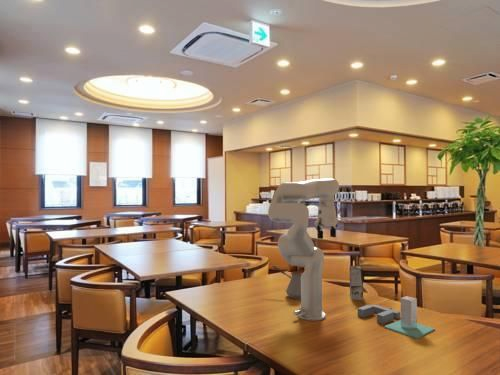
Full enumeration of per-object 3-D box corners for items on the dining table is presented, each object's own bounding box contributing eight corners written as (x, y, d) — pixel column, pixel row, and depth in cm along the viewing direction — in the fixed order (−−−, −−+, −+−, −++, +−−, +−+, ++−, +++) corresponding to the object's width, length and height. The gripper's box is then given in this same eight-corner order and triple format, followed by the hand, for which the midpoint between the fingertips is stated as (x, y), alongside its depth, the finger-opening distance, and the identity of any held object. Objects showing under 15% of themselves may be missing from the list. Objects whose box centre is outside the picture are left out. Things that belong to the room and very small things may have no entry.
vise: (383, 324, 152) (382, 316, 152) (357, 315, 162) (357, 308, 162) (403, 315, 162) (403, 308, 162) (378, 308, 172) (378, 301, 172)
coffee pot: (311, 296, 193) (310, 268, 193) (301, 301, 183) (301, 272, 184) (277, 289, 205) (277, 263, 205) (266, 294, 196) (266, 267, 196)
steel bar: (411, 330, 144) (411, 300, 144) (400, 327, 147) (400, 298, 147) (417, 327, 146) (416, 298, 146) (406, 324, 150) (406, 296, 150)
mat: (417, 338, 137) (417, 337, 137) (384, 327, 148) (384, 326, 148) (434, 330, 145) (434, 328, 145) (402, 320, 156) (402, 318, 156)
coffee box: (363, 300, 185) (363, 269, 185) (350, 299, 186) (350, 268, 186) (361, 295, 194) (361, 265, 194) (349, 294, 195) (349, 265, 195)
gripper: (320, 204, 173) (320, 240, 172) (343, 203, 183) (343, 237, 183) (309, 204, 179) (309, 238, 178) (331, 203, 189) (332, 235, 189)
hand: (326, 237), depth 181 cm, fingers open, 9 cm apart
